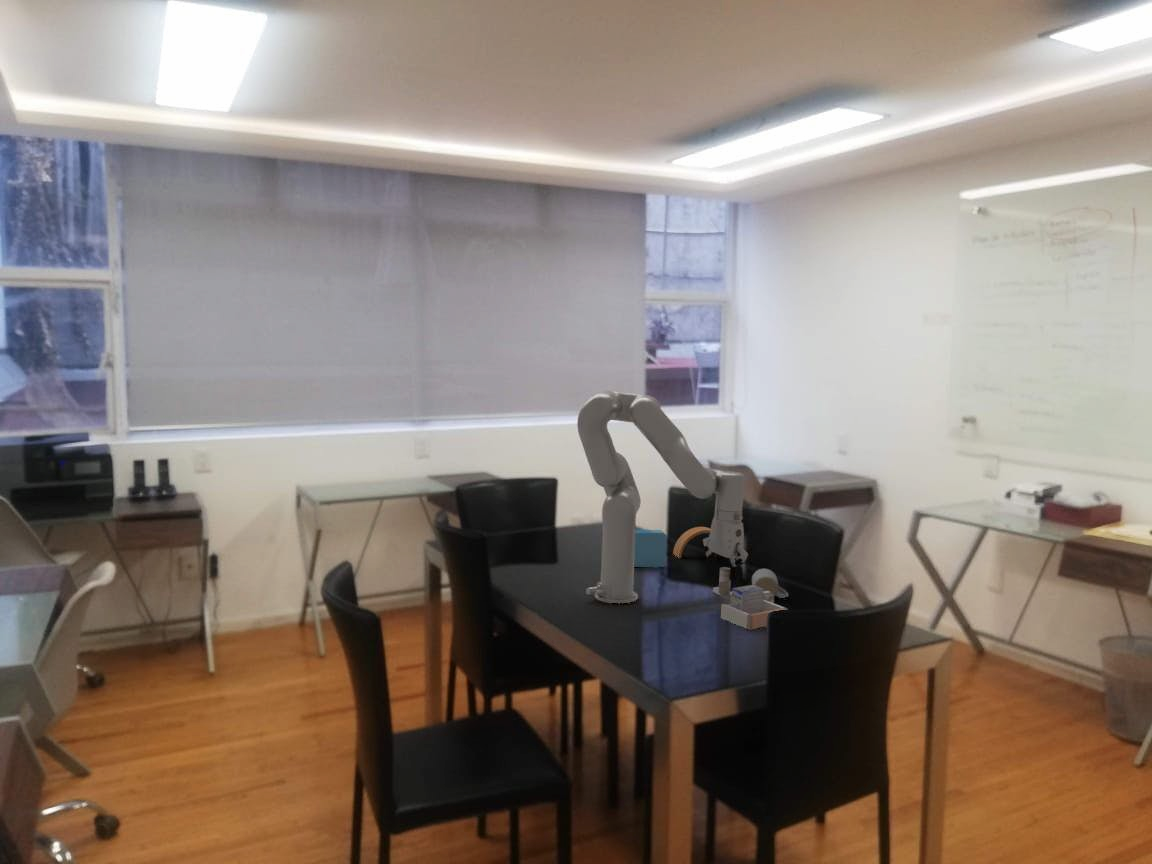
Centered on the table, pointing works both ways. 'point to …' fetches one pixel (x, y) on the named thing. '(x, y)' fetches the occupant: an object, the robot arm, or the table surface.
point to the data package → (650, 548)
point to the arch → (686, 537)
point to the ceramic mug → (768, 582)
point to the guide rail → (716, 590)
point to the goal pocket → (749, 615)
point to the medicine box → (747, 599)
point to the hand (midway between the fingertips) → (722, 575)
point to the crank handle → (726, 582)
